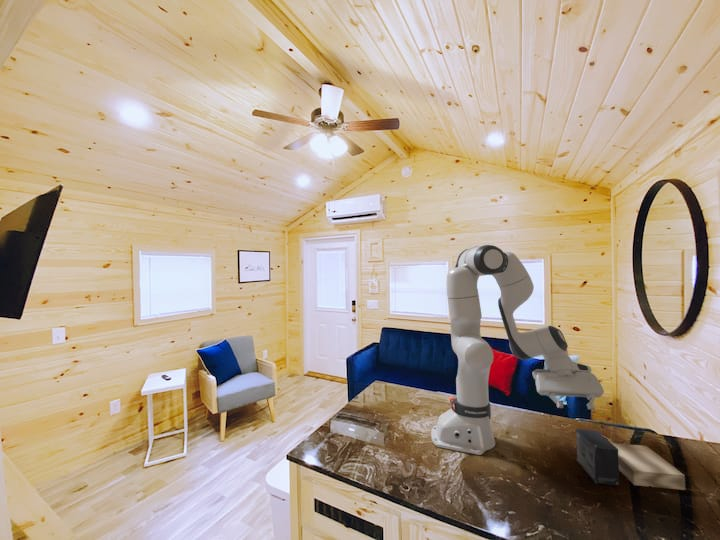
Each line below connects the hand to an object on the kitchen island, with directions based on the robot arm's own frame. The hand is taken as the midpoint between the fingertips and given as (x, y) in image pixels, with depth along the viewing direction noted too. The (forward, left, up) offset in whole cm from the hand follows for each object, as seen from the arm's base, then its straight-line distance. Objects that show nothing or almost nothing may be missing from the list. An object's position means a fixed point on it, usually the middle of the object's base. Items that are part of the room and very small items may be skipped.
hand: (576, 408), depth 99 cm
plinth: (+13, -8, -14) cm, 21 cm away
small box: (0, -11, -15) cm, 18 cm away
